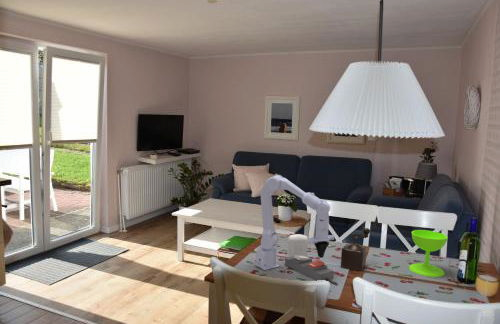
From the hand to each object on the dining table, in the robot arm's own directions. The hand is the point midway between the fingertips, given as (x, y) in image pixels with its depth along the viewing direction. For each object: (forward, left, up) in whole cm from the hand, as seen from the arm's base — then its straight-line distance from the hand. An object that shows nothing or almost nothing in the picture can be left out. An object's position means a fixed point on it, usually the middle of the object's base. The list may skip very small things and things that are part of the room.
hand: (320, 256), depth 185 cm
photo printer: (+5, +22, -8) cm, 24 cm away
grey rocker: (-3, +10, -3) cm, 11 cm away
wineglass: (+49, -23, -8) cm, 55 cm away
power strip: (-3, +2, -8) cm, 9 cm away
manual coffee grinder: (+24, 0, -8) cm, 26 cm away
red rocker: (-3, 0, -3) cm, 4 cm away
